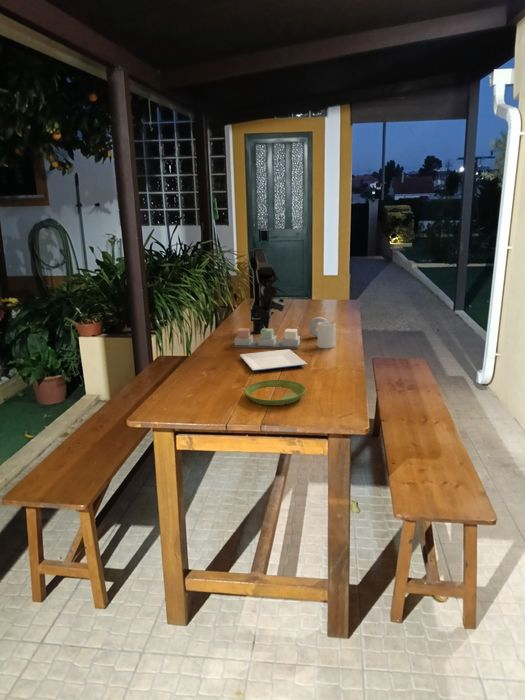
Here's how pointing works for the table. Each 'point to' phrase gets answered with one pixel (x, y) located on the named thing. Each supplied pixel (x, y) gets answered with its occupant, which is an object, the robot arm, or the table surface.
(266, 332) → the sage button
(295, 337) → the cream button
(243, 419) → the table surface
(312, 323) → the donut
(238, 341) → the button panel
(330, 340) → the mug
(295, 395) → the saucer
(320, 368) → the table surface
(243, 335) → the terracotta button
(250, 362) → the plate
